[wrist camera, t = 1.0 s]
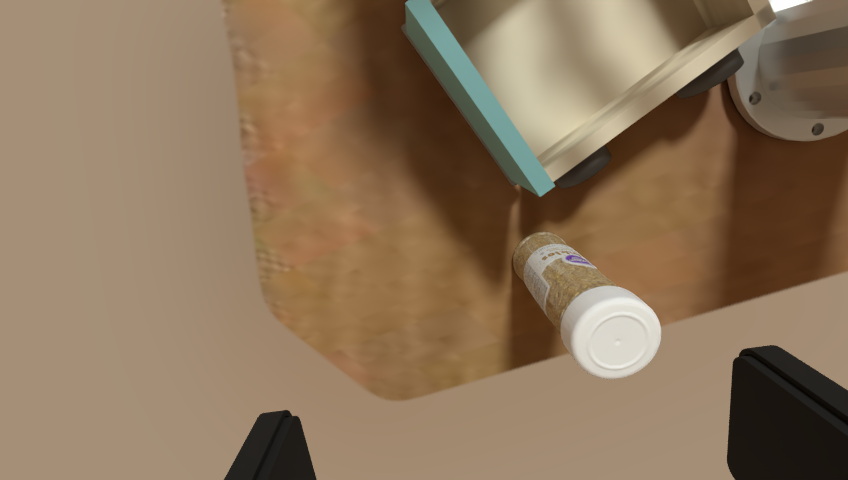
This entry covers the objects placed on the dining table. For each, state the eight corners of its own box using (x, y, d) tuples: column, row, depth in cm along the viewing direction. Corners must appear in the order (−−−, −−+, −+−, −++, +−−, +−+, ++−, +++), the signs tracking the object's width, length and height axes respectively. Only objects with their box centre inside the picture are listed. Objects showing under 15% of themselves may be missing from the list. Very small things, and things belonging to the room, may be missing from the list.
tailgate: (415, 18, 28) (416, -22, 20) (523, 174, 31) (561, 192, 23) (400, 30, 28) (397, -5, 20) (510, 184, 31) (543, 205, 23)
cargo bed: (603, -185, 26) (647, -255, 21) (727, 54, 30) (788, 41, 25) (400, -10, 28) (398, -38, 23) (540, 191, 32) (562, 203, 27)
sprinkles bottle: (568, 228, 33) (669, 295, 20) (567, 282, 34) (661, 379, 21) (510, 232, 33) (573, 303, 20) (511, 286, 34) (571, 386, 21)
